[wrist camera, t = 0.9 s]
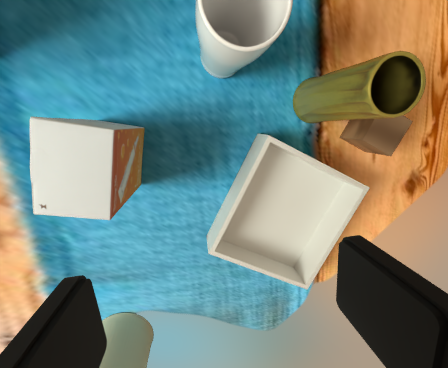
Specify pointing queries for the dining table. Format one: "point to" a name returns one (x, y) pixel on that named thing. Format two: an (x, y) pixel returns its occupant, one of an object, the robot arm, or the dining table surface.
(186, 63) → the dining table surface
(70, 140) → the small box
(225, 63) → the drinking glass
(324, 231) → the box
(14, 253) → the dining table surface
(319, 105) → the vase
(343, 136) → the walnut cube
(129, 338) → the can
